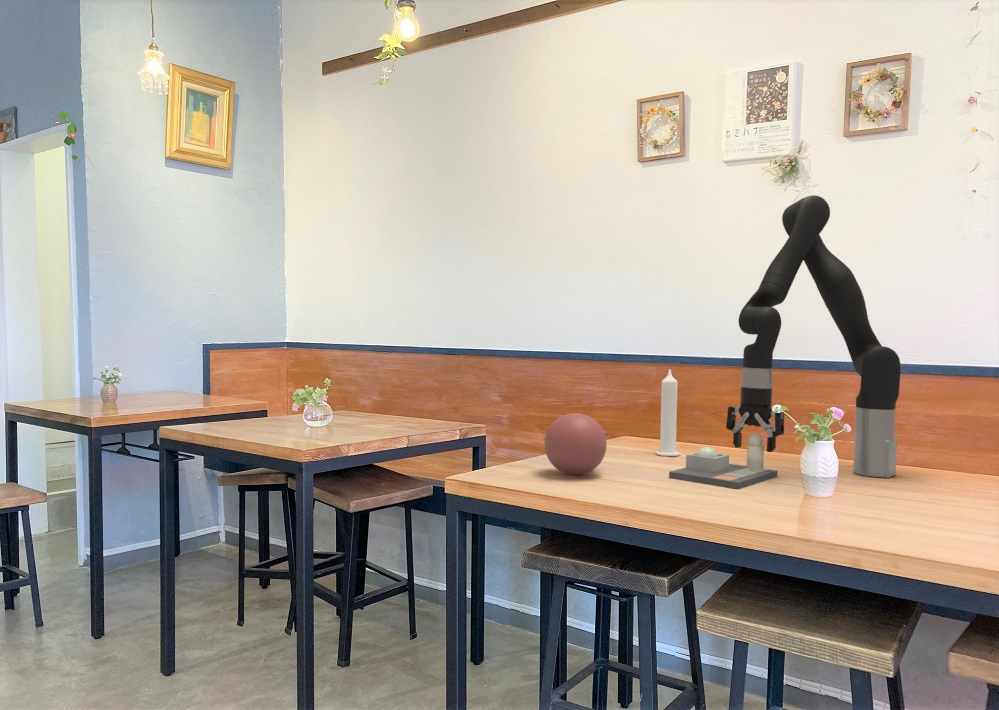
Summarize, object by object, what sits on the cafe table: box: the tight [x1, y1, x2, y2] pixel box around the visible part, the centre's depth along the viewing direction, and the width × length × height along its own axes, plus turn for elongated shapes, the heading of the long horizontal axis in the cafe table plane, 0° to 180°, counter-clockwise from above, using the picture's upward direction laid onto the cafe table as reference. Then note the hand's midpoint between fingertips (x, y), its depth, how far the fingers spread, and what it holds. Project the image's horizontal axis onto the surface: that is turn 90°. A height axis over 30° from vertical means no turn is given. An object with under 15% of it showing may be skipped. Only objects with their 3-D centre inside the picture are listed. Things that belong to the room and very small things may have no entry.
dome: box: [697, 446, 719, 458], centre depth 192 cm, size 5×5×5 cm
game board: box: [668, 451, 778, 490], centre depth 189 cm, size 18×22×5 cm
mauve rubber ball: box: [543, 412, 609, 476], centre depth 190 cm, size 15×20×15 cm
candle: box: [655, 369, 681, 457], centre depth 221 cm, size 7×7×25 cm
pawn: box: [746, 432, 765, 471], centre depth 192 cm, size 4×4×9 cm
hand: (753, 449), depth 192 cm, fingers open, 8 cm apart
